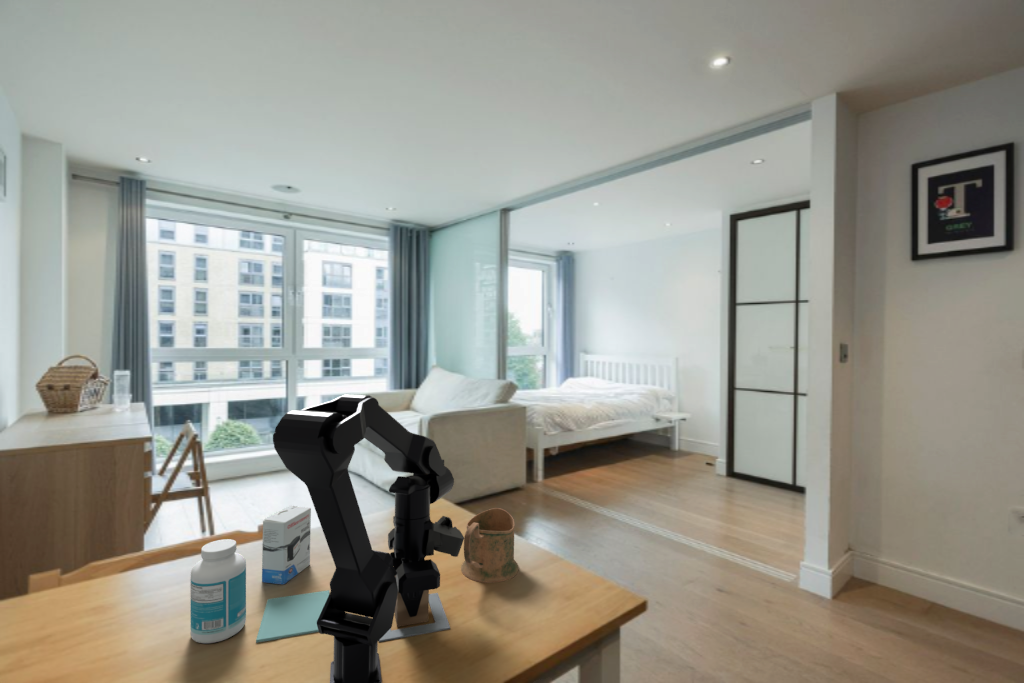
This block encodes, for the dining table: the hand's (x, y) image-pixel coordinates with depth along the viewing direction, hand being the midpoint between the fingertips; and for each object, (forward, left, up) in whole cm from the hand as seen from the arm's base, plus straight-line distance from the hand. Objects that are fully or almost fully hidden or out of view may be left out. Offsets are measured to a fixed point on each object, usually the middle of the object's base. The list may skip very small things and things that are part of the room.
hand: (410, 607), depth 80 cm
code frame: (0, 0, -2) cm, 2 cm away
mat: (+6, +18, -2) cm, 19 cm away
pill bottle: (+5, +29, -2) cm, 29 cm away
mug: (+10, -16, -2) cm, 18 cm away
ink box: (+22, +21, -2) cm, 30 cm away
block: (0, 0, -1) cm, 1 cm away
